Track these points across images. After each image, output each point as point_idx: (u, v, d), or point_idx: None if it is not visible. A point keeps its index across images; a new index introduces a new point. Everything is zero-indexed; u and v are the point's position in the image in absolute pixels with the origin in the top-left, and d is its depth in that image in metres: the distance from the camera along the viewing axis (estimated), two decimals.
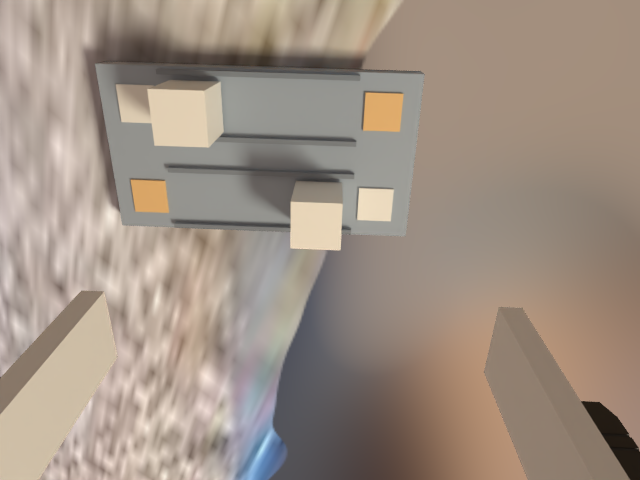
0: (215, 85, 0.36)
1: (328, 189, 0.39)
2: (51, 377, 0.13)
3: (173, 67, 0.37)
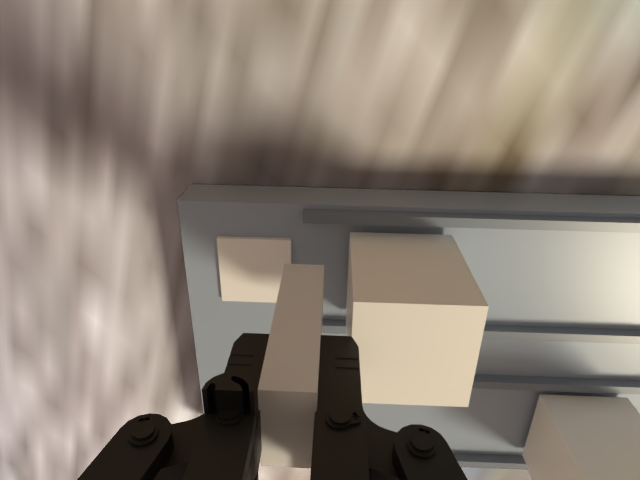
0: None
1: (624, 429, 0.20)
2: None
3: (335, 207, 0.18)
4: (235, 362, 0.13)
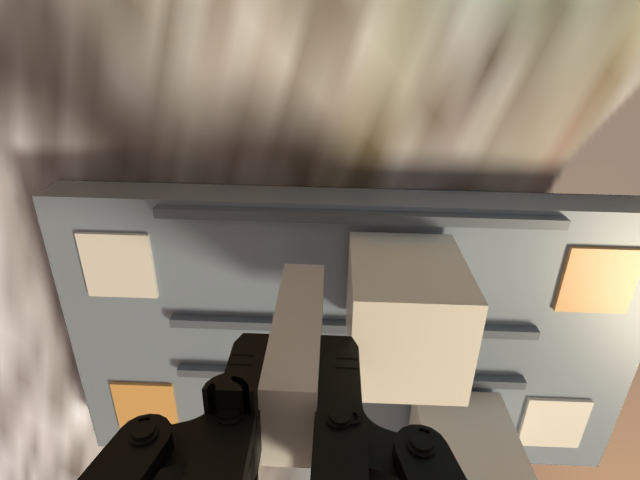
0: None
1: (486, 423, 0.20)
2: None
3: (188, 202, 0.19)
4: (235, 362, 0.13)
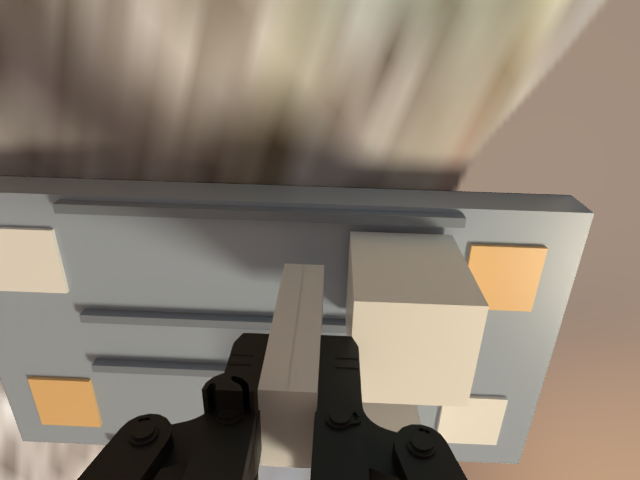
0: None
1: (393, 420, 0.20)
2: None
3: (89, 198, 0.19)
4: (235, 362, 0.13)
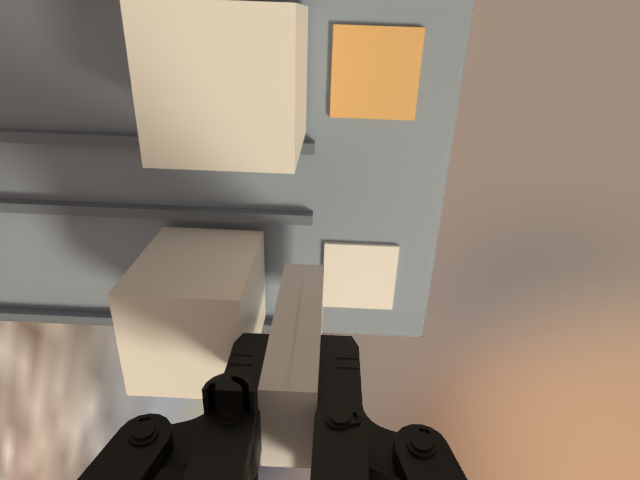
0: (304, 8, 0.14)
1: (224, 251, 0.17)
2: None
3: None
4: (235, 362, 0.13)
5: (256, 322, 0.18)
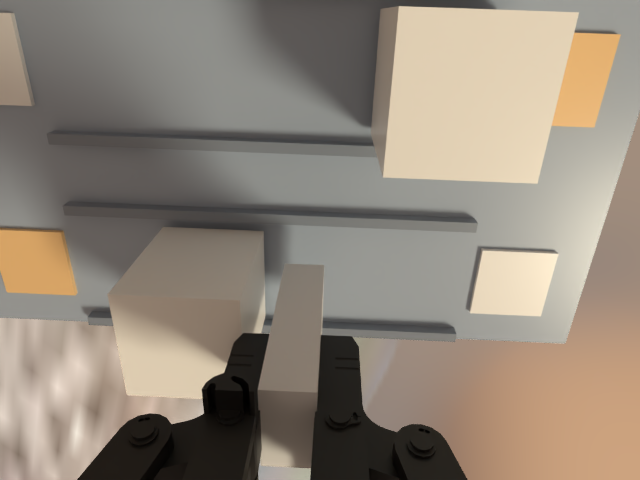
0: None
1: (224, 251, 0.17)
2: None
3: None
4: (235, 362, 0.13)
5: (256, 322, 0.18)
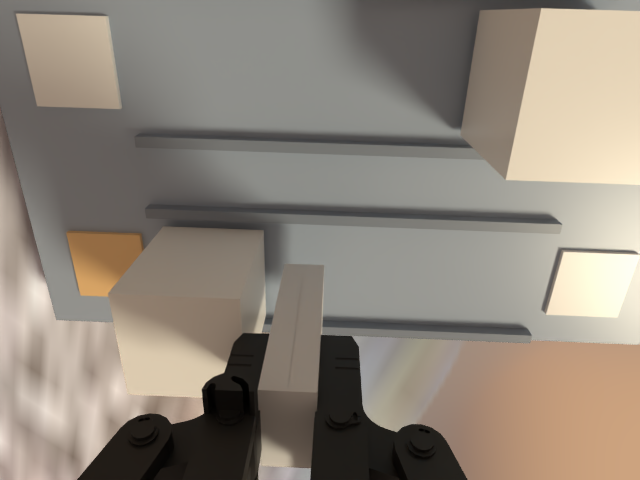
0: None
1: (224, 250, 0.17)
2: None
3: None
4: (235, 362, 0.13)
5: (256, 321, 0.18)
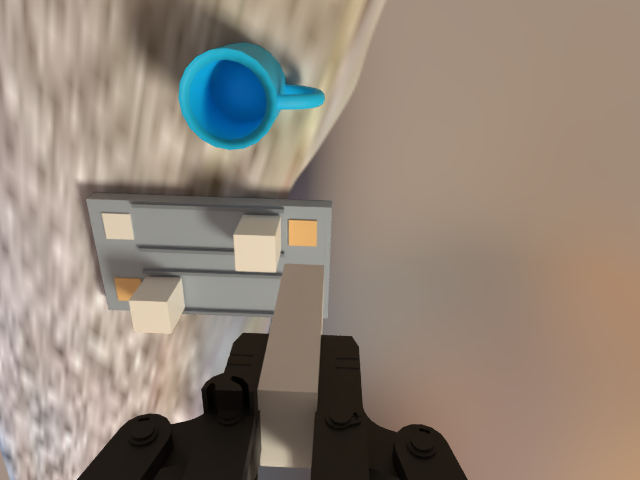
0: (278, 223, 0.48)
1: (165, 285, 0.51)
2: None
3: (144, 202, 0.49)
4: (235, 362, 0.13)
5: (177, 309, 0.52)
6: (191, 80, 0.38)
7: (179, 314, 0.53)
